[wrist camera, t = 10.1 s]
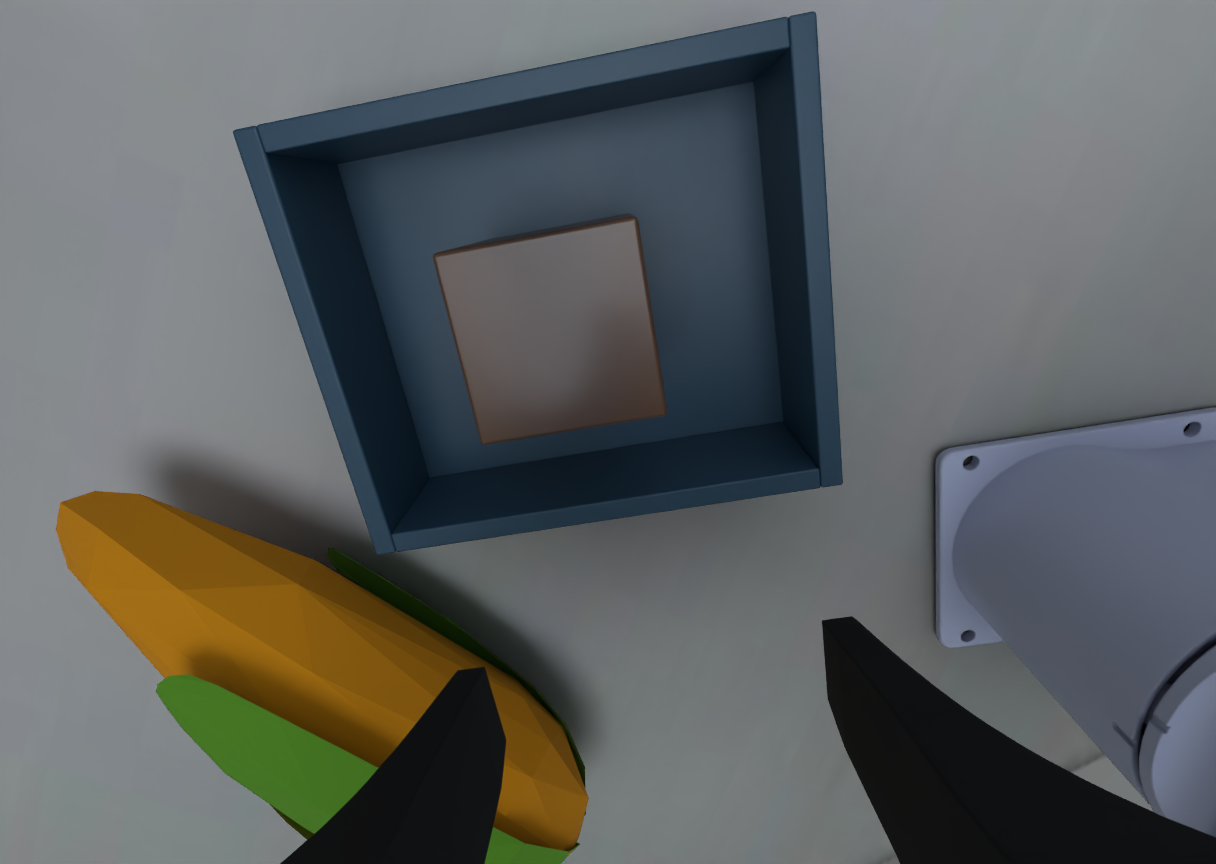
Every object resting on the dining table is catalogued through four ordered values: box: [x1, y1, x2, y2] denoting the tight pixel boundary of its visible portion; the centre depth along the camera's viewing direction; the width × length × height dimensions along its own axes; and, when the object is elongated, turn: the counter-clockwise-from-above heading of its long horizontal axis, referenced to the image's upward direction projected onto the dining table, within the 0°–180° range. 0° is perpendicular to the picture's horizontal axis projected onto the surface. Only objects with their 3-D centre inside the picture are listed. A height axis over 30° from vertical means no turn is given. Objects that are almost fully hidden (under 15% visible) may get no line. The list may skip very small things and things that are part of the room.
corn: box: [56, 491, 589, 864], centre depth 21 cm, size 7×8×20 cm
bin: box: [233, 11, 843, 555], centre depth 18 cm, size 13×11×4 cm
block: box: [433, 213, 667, 445], centre depth 17 cm, size 4×4×6 cm
